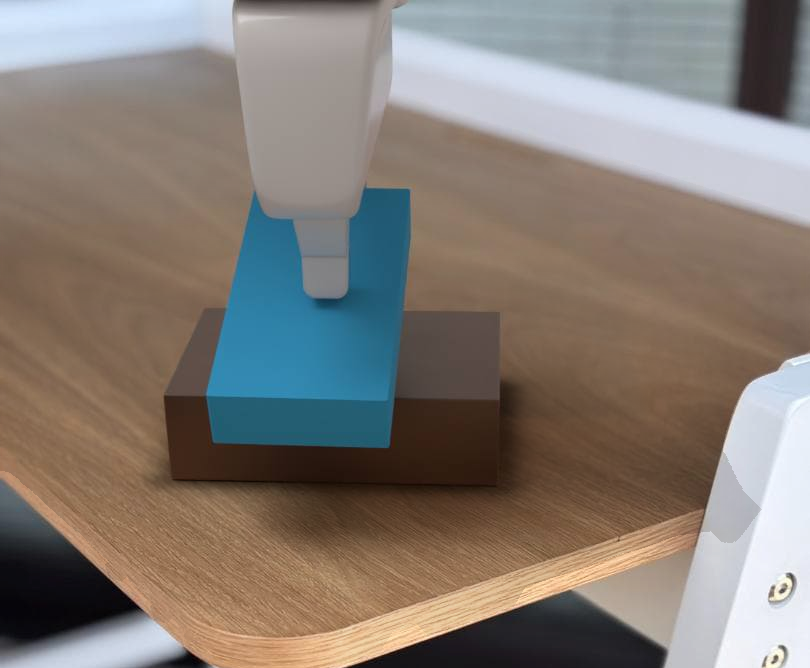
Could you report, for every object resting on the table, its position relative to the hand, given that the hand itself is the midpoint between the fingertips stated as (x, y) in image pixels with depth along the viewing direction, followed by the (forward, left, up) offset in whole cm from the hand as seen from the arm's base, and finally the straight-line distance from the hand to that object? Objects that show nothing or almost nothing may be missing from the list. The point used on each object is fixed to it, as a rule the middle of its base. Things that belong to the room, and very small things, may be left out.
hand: (337, 257), depth 64 cm
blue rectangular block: (-1, -1, -4) cm, 5 cm away
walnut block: (0, 0, -8) cm, 8 cm away
